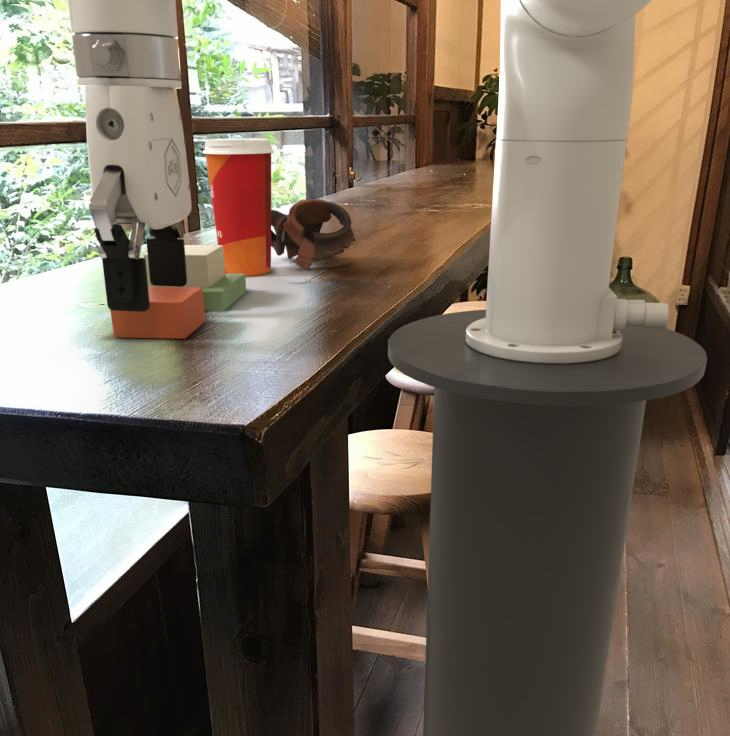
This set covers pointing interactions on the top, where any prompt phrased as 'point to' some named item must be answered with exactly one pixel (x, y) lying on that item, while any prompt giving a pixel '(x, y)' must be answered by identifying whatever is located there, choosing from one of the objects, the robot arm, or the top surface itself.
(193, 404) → the top surface
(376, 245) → the top surface
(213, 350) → the top surface
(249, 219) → the paper cup
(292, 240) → the brown coiled band
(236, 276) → the sage green pad
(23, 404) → the top surface
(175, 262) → the robot arm
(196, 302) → the orange rectangular block
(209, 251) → the cream rectangular block
